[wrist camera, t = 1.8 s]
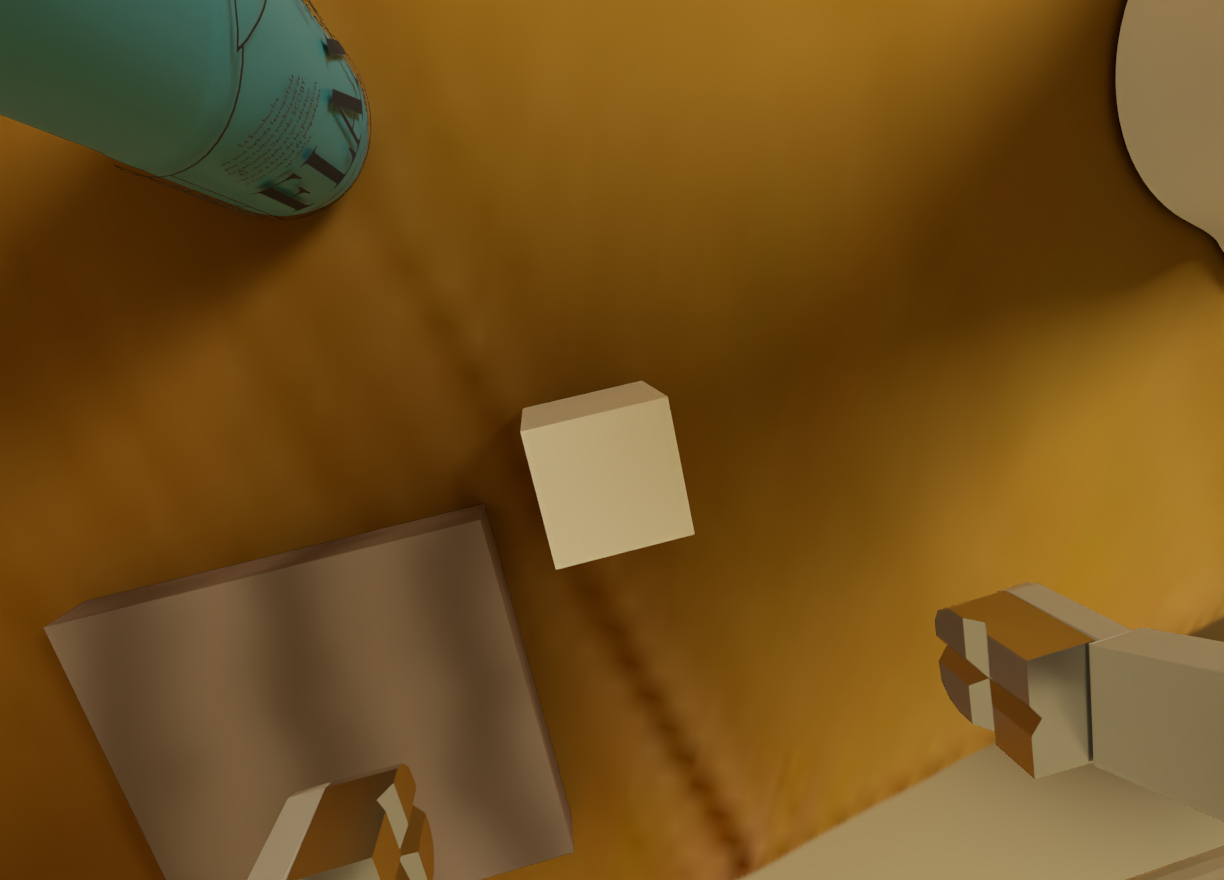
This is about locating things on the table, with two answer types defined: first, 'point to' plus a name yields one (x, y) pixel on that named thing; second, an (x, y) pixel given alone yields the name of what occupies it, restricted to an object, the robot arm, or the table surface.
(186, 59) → the beverage bottle
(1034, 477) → the table surface
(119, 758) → the walnut base
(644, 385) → the off-white cube
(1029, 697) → the robot arm
